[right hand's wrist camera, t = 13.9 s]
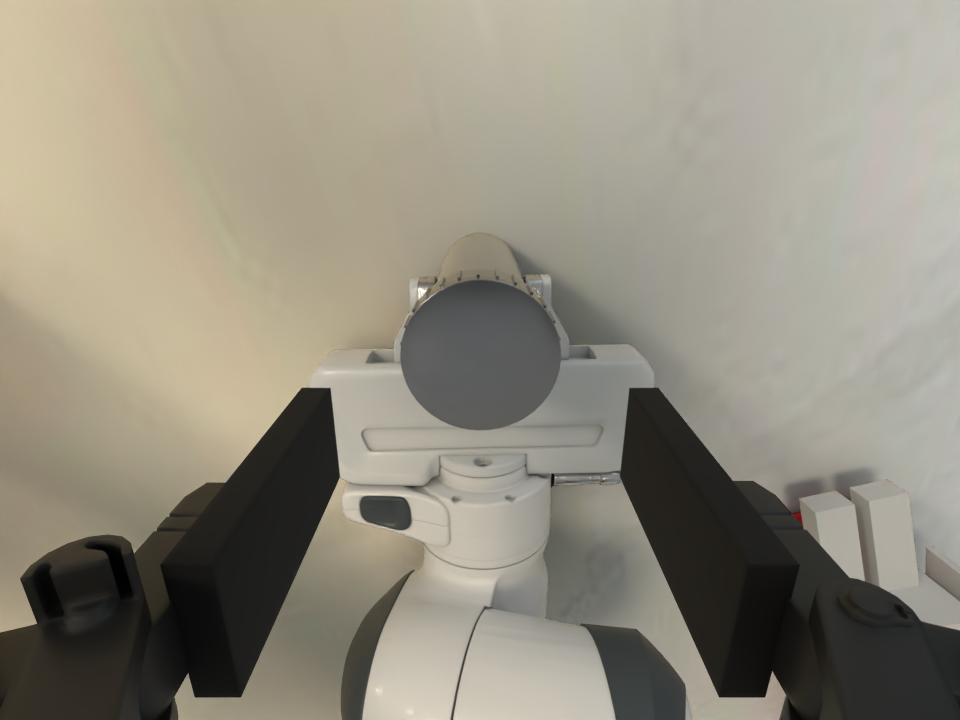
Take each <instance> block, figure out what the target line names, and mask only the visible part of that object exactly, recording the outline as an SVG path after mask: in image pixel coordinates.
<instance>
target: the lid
mask: <svg viewBox="0 0 960 720" xmlns="http://www.w3.org/2000/svg"><path fill="white" fill-rule="evenodd" d="M546 307H547V306H546V304H545V302H544V300H543V298H542V296H540V297H539V296H538V295H537V293H536V292H535V291H534V290H533V289H532V288H531V285H530V284H529V283H528V284H525V283H524V282H522V281H521V280H519V279H517V278H516V276H515V275H514V274H512V275H509V274H506V273H504V272H500V271H498V269H495V270H488V269H480V267H477V269H472V270H466V271H461V270H459V271H458V273H455V274H452V275H450V276H448V277H446V278H445V277H444V276H443V277H442V278H441V281H439V282H437V283H436V284H435V285H433V286H432V287H431V288H430V287H428V288H427V290H426V292H425V294H424V295H423V296H422V297H421V299H420V300H417V301H416V303H415V305H414V307H413V309H412V312H413V313H412V315H409V317H408V319H407V321H406V323H405V325H404V328H405V331H404V334H403V337H402V340H401V342H400V345H401V352H400V359H401V360H400V361H401V368H402V372H403V376H404V379H405V381H406V384H407V386H408V388H409V390H410V391H411V393H412V395H413V396H414V397H415V399H416V400H417V402H418V403H419V404H420V405H421V406H422V407H423V408H424V409H425V410H426V411H428V412H429V413H430V414H431V415H433V416H434V417H436V418H438V419H439V420H441V421H443V422H445V423H447V424H449V425H452V426H456V427H459V428H463V429H468V430H492V429H499V428H502V427H506V426H509V425H512V424H514V423H516V422H518V421H520V420H522V419H524V418H526V417H527V416H528V415H530V414H531V413H533V412H534V411H535V410H536V409H537V408H538V407H539V406H540V405H541V404H542V403H543V402H544V401H545V399H546V398H547V397H548V395H549V394H550V392H551V390H552V389H553V387H554V385H555V382H556V380H557V377H558V374H559V370H560V364H561V346H560V340H561V338H560V336H559V334H558V332H557V329H556V327H555V325H554V324H555V323H556V322H555V319H554V317H553V315H552V313H551V311H548V310H547V308H546Z"/></svg>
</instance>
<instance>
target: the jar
mask: <svg viewBox="0 0 960 720" xmlns="http://www.w3.org/2000/svg"><path fill="white" fill-rule="evenodd" d="M477 267H480V269H488V270H495V269H498V271H500V272H504V273H506V274H509V275H512V274H514V275H515V276H516V278H517V279H519V280H521V281H522V282H524V280H523V277H522V274H521V272H520V269H519V267H518V264H517V261H516V259H515V256H514V254H513V252H512V251H511V249H510V248H509V246H508V245H507V244H506V243H505V242H504V241H502V240H501V239H499V238H497V237H495V236H493V235H490V234H484V233H476V234H471V235H467V236H465V237H463V238H461V239H460V240H458V241H457V242H456V243H455V244H454V245H453V246H452V247H451V248H450V250H449V251H448V253H447V255H446V257H445V260H444V263H443V265H442V268H441V271H440V273H439V276H438V279H437V282H439V281H441V278H442V277H443V276H444V277H445V278H446V277H448V276H450V275H452V274H455V273H458V271H459V270H461V271H466V270H472V269H477ZM437 282H436V283H437ZM524 283H525V282H524Z"/></svg>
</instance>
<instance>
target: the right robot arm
mask: <svg viewBox="0 0 960 720" xmlns="http://www.w3.org/2000/svg"><path fill="white" fill-rule="evenodd" d="M339 478H340V470H339V461H338V452H337V443H336V433H335V424H334V415H333V405H332V396H331V388H301V390H300V391H299V392H298V393H297V395H296V396H295V397H294V398H293V400H292V401H291V402H290V403H289V405H288V406H287V407H286V408H285V410H284V411H283V412H282V413H281V415H280V416H279V417H278V418H277V420H276V421H275V422H274V423H273V425H272V426H271V427H270V428H269V430H268V431H267V432H266V433H265V435H264V436H263V437H262V438H261V440H260V441H259V442H258V443H257V444H256V446H255V447H254V448H253V449H252V451H251V452H250V453H249V454H248V456H247V457H246V458H245V459H244V461H243V462H242V463H241V464H240V466H239V467H238V468H237V469H236V471H235V472H234V473H233V474H232V476H231V477H230V478H229V479H228V481H227V482H226V483H206V484H204V485H203V486H201V487H200V488H198V489H197V490H195V491H193V492H192V493H190V494H189V495H187V496H186V497H184V498H183V500H182V501H181V502H180V503H179V504H178V505H177V506H176V507H175V508H174V510H173V511H172V512H171V513H170V516H169V517H166V519H165V520H164V521H163V522H162V523H161V524H160V525H159V526H158V528H157V531H156V532H153V533H152V534H151V535H150V537H149V538H148V539H147V540H146V541H145V542H144V543H143V544H142V546H141V547H140V548H139V549H138V550H137V551H136V552H135V553H133V550H132V546H131V543H130V542H129V541H128V540H126V539H125V538H123V537H122V536H114V535H100V536H92V537H87V538H84V539H81V540H77V541H74V542H71V543H68V544H66V545H64V546H62V547H60V548H57V549H55V550H53V551H51V552H49V553H47V554H46V555H45V556H43V557H42V558H41V559H39V560H38V561H36V562H35V563H34V564H32V565H31V566H30V567H29V568H28V570H27V571H26V572H25V573H24V574H23V576H22V577H21V578H20V580H21V582H22V585H23V587H24V590H25V593H26V595H27V598H28V601H29V603H30V606H31V608H32V611H33V614H34V616H35V619H36V621H37V624H35V625H31V626H27V627H23V628H18V629H14V630H10V631H6V632H1V633H0V720H178V712H177V705H176V702H175V698H174V696H175V695H176V693H177V691H178V689H179V688H180V686H181V684H182V682H183V681H184V679H185V677H186V675H187V674H188V673H189V677H190V681H191V684H192V688H193V692H194V696H195V697H241V696H242V694H243V691H244V689H245V687H246V685H247V682H248V680H249V678H250V676H251V674H252V671H253V669H254V667H255V665H256V662H257V660H258V658H259V656H260V654H261V651H262V649H263V647H264V645H265V642H266V640H267V638H268V636H269V634H270V631H271V629H272V627H273V625H274V622H275V620H276V618H277V616H278V614H279V611H280V609H281V607H282V605H283V602H284V600H285V598H286V596H287V594H288V591H289V589H290V587H291V585H292V582H293V580H294V578H295V576H296V574H297V571H298V569H299V567H300V565H301V562H302V560H303V558H304V556H305V554H306V551H307V549H308V547H309V545H310V542H311V540H312V538H313V536H314V534H315V531H316V529H317V527H318V525H319V522H320V520H321V518H322V516H323V514H324V511H325V509H326V507H327V505H328V502H329V500H330V498H331V496H332V494H333V491H334V489H335V487H336V485H337V482H338V480H339ZM620 478H621V480H622V482H623V485H624V487H625V489H626V491H627V494H628V496H629V498H630V500H631V502H632V505H633V507H634V509H635V511H636V514H637V516H638V518H639V520H640V522H641V525H642V527H643V529H644V531H645V534H646V536H647V538H648V540H649V542H650V545H651V547H652V549H653V551H654V554H655V556H656V558H657V560H658V562H659V565H660V567H661V569H662V571H663V574H664V576H665V578H666V580H667V582H668V585H669V587H670V589H671V591H672V594H673V596H674V598H675V600H676V602H677V605H678V607H679V609H680V611H681V614H682V616H683V618H684V620H685V622H686V625H687V627H688V629H689V631H690V634H691V636H692V638H693V640H694V642H695V645H696V647H697V649H698V651H699V654H700V656H701V658H702V660H703V662H704V665H705V667H706V669H707V671H708V674H709V676H710V678H711V680H712V682H713V685H714V687H715V689H716V691H717V694H718V696H719V697H765V696H766V692H767V688H768V684H769V681H770V677H771V673H772V671H773V673H774V674H775V676H776V678H777V680H778V681H779V683H780V685H781V687H782V688H783V690H784V692H785V693H786V698H785V702H784V705H783V709H782V712H781V716H780V719H779V720H960V630H956V629H952V628H947V627H943V626H939V625H934V624H930V623H926V622H923V621H920V619H919V618H918V616H917V615H916V613H915V612H914V611H913V609H911V608H910V607H909V606H908V605H907V604H905V603H904V602H903V601H902V600H901V599H899V598H898V597H897V596H895V595H893V594H891V593H890V592H888V591H886V590H884V589H882V588H881V587H879V586H877V585H874V584H871V583H868V582H865V581H862V580H859V579H855V578H849V576H848V575H847V574H846V573H845V572H844V571H843V570H842V569H841V568H840V566H839V565H838V564H837V563H836V562H835V561H834V560H833V559H832V558H831V556H830V555H829V554H828V553H827V552H826V551H825V550H824V549H823V547H822V546H821V545H820V544H819V543H818V542H817V541H816V540H815V539H814V537H813V536H812V535H811V534H810V533H809V532H808V531H807V530H804V529H803V525H802V524H801V523H800V522H799V521H798V520H797V519H796V517H795V516H794V515H791V512H790V511H789V510H788V508H787V507H786V506H785V505H784V504H783V503H782V502H781V501H780V500H779V498H778V497H777V496H776V495H774V494H773V493H771V492H770V491H768V490H766V489H765V488H763V487H762V486H760V485H759V484H757V483H755V482H754V481H732V479H731V478H730V477H729V476H728V474H727V473H726V472H725V471H724V469H723V468H722V467H721V466H720V464H719V463H718V462H717V461H716V459H715V458H714V457H713V456H712V454H711V453H710V452H709V451H708V449H707V448H706V447H705V446H704V444H703V443H702V442H701V441H700V440H699V438H698V437H697V436H696V435H695V433H694V432H693V431H692V430H691V428H690V427H689V426H688V425H687V423H686V422H685V421H684V420H683V418H682V417H681V416H680V415H679V413H678V412H677V411H676V410H675V408H674V407H673V406H672V405H671V403H670V402H669V401H668V400H667V398H666V397H665V396H664V395H663V393H662V392H661V391H660V390H659V388H629V396H628V405H627V415H626V424H625V433H624V443H623V452H622V461H621V470H620Z"/></svg>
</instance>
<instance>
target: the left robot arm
mask: <svg viewBox="0 0 960 720" xmlns="http://www.w3.org/2000/svg"><path fill="white" fill-rule="evenodd" d="M523 280H524V282H525V284H528V283H529V284H530V285H531V288H532V289H533V290H534V291H535V292H536V293H537V295H538V296H539V297H540V296H542V298H543V300H544V302H545V304H546V306H547V307H546V308H547V310H548V311H551V313H552V315H553V317H554V319H555V322H556V323H555V324H554V325H555V327H556V329H557V332H558V334H559V336H560V338H561V340H560V346H561V364H560V370H559V374H558V377H557V380H556V382H555V385H554V387H553V389H552V390H551V392H550V394H549V395H548V397H547V398H546V399H545V401H544V402H543V403H542V404H541V405H540V406H539V407H538V408H537V409H536V410H535V411H534V412H533V413H531V414H530V415H528V416H527V417H526V418H524V419H522V420H520V421H518V422H516V423H514V424H512V425H509V426H506V427H502V428H499V429H492V430H468V429H463V428H459V427H456V426H452V425H449V424H447V423H445V422H443V421H441V420H439V419H438V418H436V417H434V416H433V415H431V414H430V413H429V412H428V411H426V410H425V409H424V408H423V407H422V406H421V405H420V404H419V403H418V402H417V400H416V399H415V397H414V396H413V395H412V393H411V391H410V390H409V388H408V386H407V384H406V381H405V379H404V376H403V372H402V368H401V361H400V360H401V359H400V352H401V345H400V342H401V340H402V337H403V334H404V331H405V328H404V325H405V323H406V321H407V319H408V317H409V315H412V313H413V312H412V309H413V307H414V305H415V303H416V301H417V300H420V299H421V297H422V296H423V295H424V294H425V292H426V290H427V288H428V287H430V288H431V287H432V286H433V285H435V284H436V282H437V277H411V279H410V280H409V299H410V311H409V313H408V315H407V316H406V318H405V320H404V322H403V324H402V326H401V328H400V330H399V332H398V334H397V336H396V338H395V340H394V342H393V347H394V349H342V350H333V351H331V352H329V353H328V354H327V355H326V356H325V357H324V358H323V359H322V360H321V361H320V362H319V364H318V365H317V366H316V368H315V369H314V371H313V372H312V374H311V376H310V379H309V386H308V388H331V396H332V405H333V415H334V424H335V433H336V443H337V452H338V461H339V470H340V478H341V479H343V480H345V481H346V482H345V485H344V489H343V494H342V510H343V513H344V515H345V516H346V517H347V518H348V519H349V520H352V521H354V522H357V523H361V524H365V525H369V526H373V527H377V528H381V529H385V530H389V531H392V532H396V533H399V534H402V535H405V536H408V537H411V538H414V539H417V540H419V541H422V543H423V546H424V560H423V563H422V566H421V568H420V569H419V570H418V571H415V570H412V571H411V572H409V573H408V574H407V575H405V576H404V577H403V578H402V579H400V580H399V581H398V582H397V583H396V584H395V585H394V586H393V587H392V588H391V589H390V590H389V591H388V592H387V593H386V594H385V595H384V596H383V597H382V598H381V599H380V600H379V601H378V602H377V603H376V604H375V605H374V606H373V607H372V609H371V610H370V611H369V612H368V614H367V615H366V617H365V618H364V620H363V621H362V623H361V625H360V627H359V629H358V630H357V632H356V635H355V637H354V639H353V641H352V643H351V646H350V648H349V651H348V654H347V658H346V662H345V666H344V672H343V678H342V688H341V714H342V720H693V719H692V713H691V709H690V705H689V701H688V698H687V695H686V688H685V684H684V682H683V681H682V679H681V678H680V676H679V675H678V674H677V672H676V671H675V670H674V668H673V667H672V666H671V665H670V664H669V662H668V661H667V660H666V659H665V658H664V656H663V655H662V654H661V653H660V652H659V651H658V650H657V649H656V648H655V647H654V646H653V645H652V644H651V642H650V641H648V640H647V639H646V638H645V637H644V636H643V635H642V634H641V633H640V632H639V631H638V630H637V629H630V628H620V627H610V626H600V625H590V624H581V625H574V624H569V623H564V622H559V621H554V620H548V619H545V618H546V608H547V594H548V573H547V568H546V564H545V561H544V558H543V553H544V550H545V548H546V545H547V542H548V538H549V532H550V505H551V487H552V486H574V485H583V484H588V483H589V484H592V483H593V484H600V485H613V484H618V483H620V481H621V478H620V470H621V461H622V452H623V443H624V433H625V424H626V415H627V405H628V396H629V388H654V372H653V370H652V368H651V366H650V365H649V363H648V362H647V361H646V359H645V358H644V357H643V356H642V355H641V354H640V353H639V352H638V351H637V350H636V349H635V348H634V347H633V346H631V345H628V344H606V345H569V342H570V340H569V338H568V336H567V334H566V332H565V330H564V328H563V326H562V324H561V323H560V321H559V319H558V317H557V316H556V314H555V312H554V310H553V309H552V307H551V291H552V283H551V277H550V276H549V274H535V275H524V276H523Z"/></svg>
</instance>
